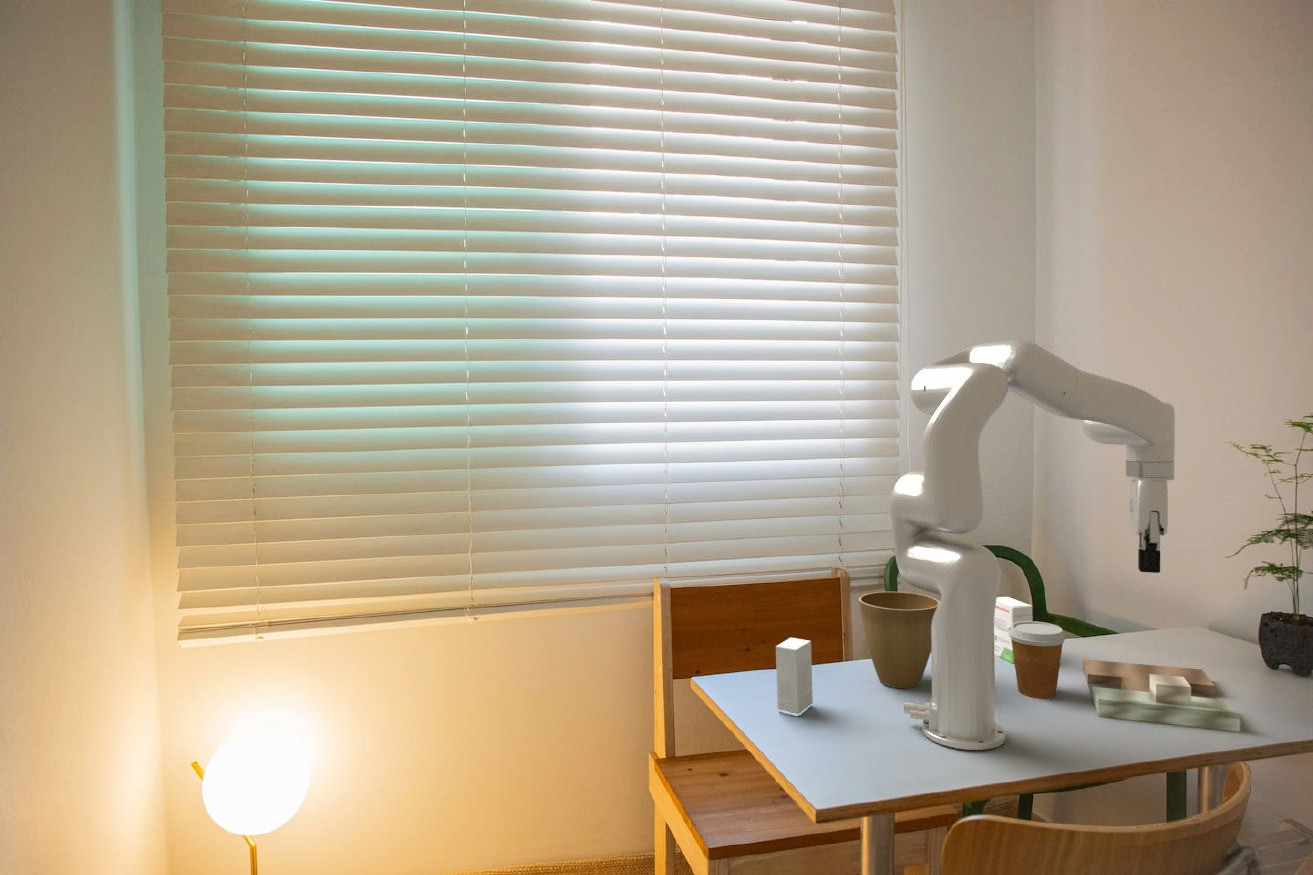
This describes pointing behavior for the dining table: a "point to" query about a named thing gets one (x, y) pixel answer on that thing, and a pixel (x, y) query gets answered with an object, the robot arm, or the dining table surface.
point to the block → (1170, 690)
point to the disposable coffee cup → (1037, 657)
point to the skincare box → (794, 675)
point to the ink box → (1008, 624)
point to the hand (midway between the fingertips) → (1149, 571)
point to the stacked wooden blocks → (1128, 697)
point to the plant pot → (898, 634)
